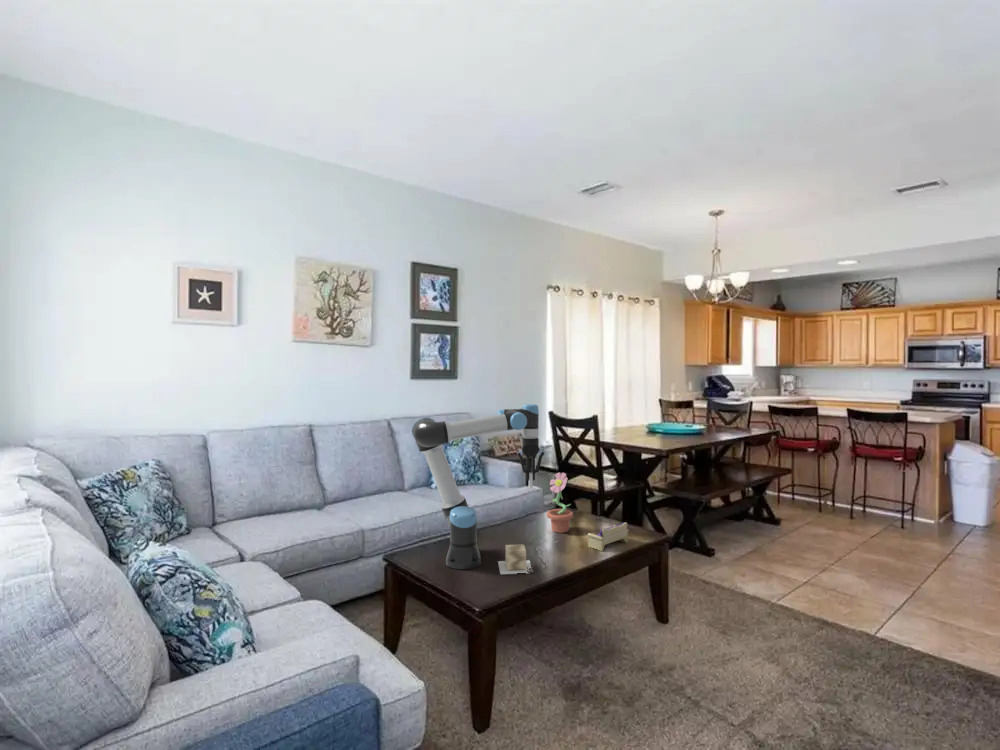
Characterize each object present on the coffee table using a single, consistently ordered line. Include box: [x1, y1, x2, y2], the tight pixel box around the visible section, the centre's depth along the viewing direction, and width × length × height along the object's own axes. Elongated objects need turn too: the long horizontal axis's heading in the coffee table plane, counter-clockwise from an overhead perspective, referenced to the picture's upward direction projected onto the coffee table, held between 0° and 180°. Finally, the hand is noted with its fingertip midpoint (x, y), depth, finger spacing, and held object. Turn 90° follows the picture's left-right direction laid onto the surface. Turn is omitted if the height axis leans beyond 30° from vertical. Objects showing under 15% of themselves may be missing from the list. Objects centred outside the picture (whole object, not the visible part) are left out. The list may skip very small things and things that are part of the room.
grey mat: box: [497, 559, 532, 575], centre depth 238 cm, size 14×14×1 cm
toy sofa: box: [587, 521, 630, 552], centre depth 267 cm, size 21×9×10 cm, turn 132°
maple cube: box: [504, 543, 527, 570], centre depth 238 cm, size 8×8×8 cm
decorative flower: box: [546, 472, 574, 534], centre depth 288 cm, size 15×14×30 cm
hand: (530, 487), depth 263 cm, fingers closed
